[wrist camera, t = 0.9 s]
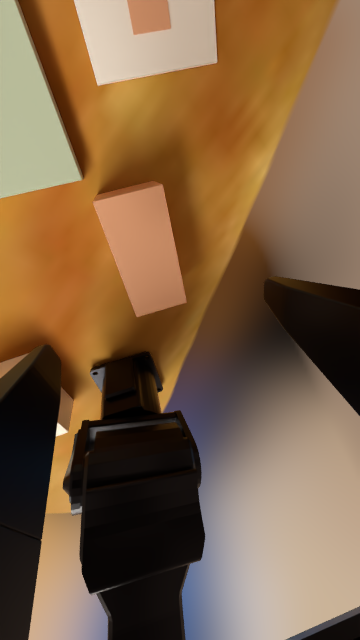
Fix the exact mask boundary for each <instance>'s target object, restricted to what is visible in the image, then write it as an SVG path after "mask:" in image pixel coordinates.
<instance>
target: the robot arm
mask: <svg viewBox="0 0 360 640" xmlns="http://www.w3.org/2000/svg"><path fill="white" fill-rule="evenodd" d="M264 300H265V302H266V303H267V305H268V306H269V308H270V309H271V311H272V312H273V313H274V315H275V317H276V318H277V320H278V321H279V322H280V324H281V325H282V327H283V328H284V329H285V330H286V332H287V333H288V334H289V335H290V336H291V337H292V338H293V340H294V341H295V342H296V343H297V344H298V345H299V347H300V348H301V349H302V350H303V351H304V352H305V353H306V355H307V356H308V357H309V358H310V359H311V360H312V362H313V363H314V364H315V365H316V366H317V367H318V368H319V370H320V371H321V372H322V373H323V374H324V375H325V376H326V378H327V379H328V380H329V381H330V382H331V383H332V385H333V386H334V387H335V388H336V389H337V390H338V391H339V393H340V394H341V395H342V396H343V397H344V398H345V400H346V401H347V402H348V403H349V404H350V405H351V406H352V408H353V409H354V410H355V411H356V412H357V413H358V415H359V416H360V290H358V289H352V288H346V287H339V286H333V285H327V284H321V283H315V282H309V281H302V280H296V279H290V278H283V277H277V276H273V277H270V278H267V279H265V281H264ZM146 356H148V357H146ZM95 372H96V373H95ZM90 375H91V377H92V378H93V380H94V381H95V383H96V384H97V386H98V388H99V389H100V391H101V392H102V402H101V420H94V421H89V420H84V421H82V426H81V429H79V431H78V433H77V434H75V438H74V445H73V451H72V455H71V459H70V462H69V465H68V468H67V471H66V474H65V477H64V481H63V489H64V490H65V492H66V493H67V494H68V495H69V501H70V503H71V514H72V516H73V515H78V514H81V513H82V515H81V537H80V561H81V564H82V575H83V578H84V580H85V583H86V586H87V588H88V591H89V593H90V595H93V594H97V596H98V598H99V600H100V602H101V604H102V606H103V608H104V610H105V612H106V614H107V616H108V640H185V630H184V619H183V608H182V589H183V586H184V582H185V579H186V575H187V572H188V569H189V565H190V564H191V563H193V562H197V561H200V560H201V558H202V554H203V548H204V542H205V532H204V527H203V521H202V515H201V510H200V503H199V495H198V488H199V487H200V484H201V463H200V457H199V452H198V449H197V446H196V443H195V441H194V438H193V436H192V434H191V432H190V430H189V428H188V425H187V423H186V421H185V419H184V417H183V415H182V413H181V411H180V410H179V411H174V412H169V413H161V408H160V402H159V397H158V392H161V391H162V390H163V387H162V383H161V381H160V378H159V375H158V372H157V370H156V367H155V364H154V361H153V359H152V356H151V354H150V353H149V352H144V353H141V354H137V355H134V356H131V357H127V358H124V359H121V360H117V361H114V362H111V363H107V364H104V365H101V366H97V367H94V368H92V369H91V371H90ZM60 400H61V360H60V358H59V357H58V355H57V354H56V353H55V351H54V350H53V349H52V347H51V346H50V345H49V344H44V345H41V346H38V347H36V348H34V349H33V350H32V351H31V352H30V353H29V354H28V355H26V356H25V357H24V358H23V359H22V360H21V361H20V362H18V363H17V364H16V365H15V366H14V367H13V368H12V369H10V370H9V371H8V372H7V373H6V374H5V375H4V376H2V377H1V378H0V640H28V637H29V630H30V622H31V615H32V607H33V600H34V593H35V586H36V579H37V571H38V564H39V557H40V549H41V539H42V533H43V525H44V518H45V511H46V504H47V496H48V489H49V482H50V474H51V467H52V460H53V452H54V445H55V438H56V430H57V423H58V416H59V408H60ZM286 640H360V606H359V607H357V608H355V609H353V610H351V611H349V612H346V613H344V614H342V615H340V616H337V617H335V618H333V619H331V620H328V621H326V622H324V623H322V624H319V625H318V626H315V627H313V628H311V629H308V630H306V631H304V632H302V633H299V634H297V635H295V636H293V637H290V638H288V639H286Z"/></svg>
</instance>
